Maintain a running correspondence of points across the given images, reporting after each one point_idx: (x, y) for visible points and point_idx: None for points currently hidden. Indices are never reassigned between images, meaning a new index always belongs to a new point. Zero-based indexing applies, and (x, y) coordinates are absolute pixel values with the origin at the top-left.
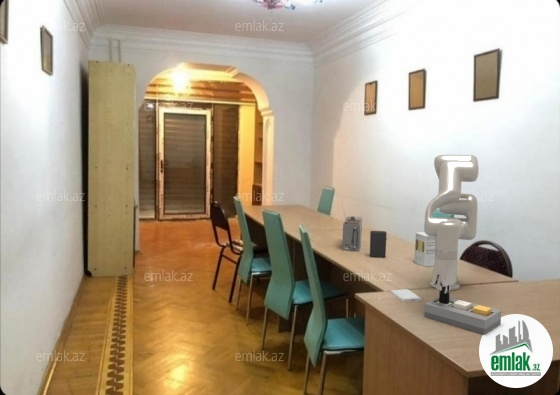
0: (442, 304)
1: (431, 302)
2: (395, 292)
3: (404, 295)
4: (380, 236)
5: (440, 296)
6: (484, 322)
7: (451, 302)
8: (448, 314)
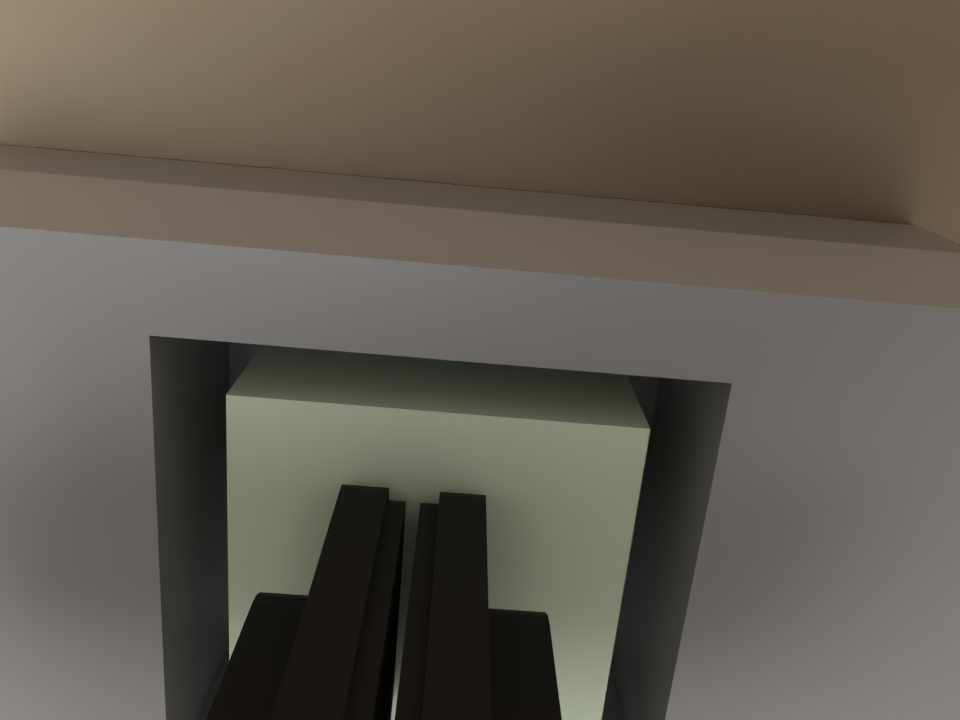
0: (240, 613)
1: (63, 330)
2: None
3: None
4: None
5: (219, 692)
6: None
7: (660, 698)
8: None
